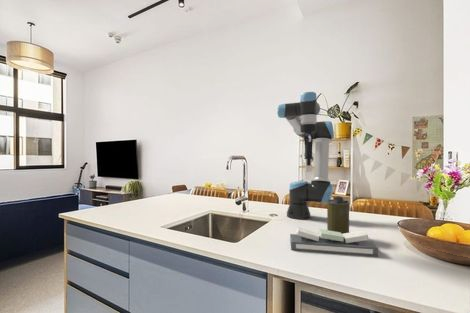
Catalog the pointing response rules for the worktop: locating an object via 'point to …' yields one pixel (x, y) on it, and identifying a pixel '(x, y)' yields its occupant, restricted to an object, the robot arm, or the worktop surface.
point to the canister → (338, 215)
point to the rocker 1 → (307, 233)
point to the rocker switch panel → (333, 246)
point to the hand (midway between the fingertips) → (308, 172)
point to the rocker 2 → (355, 236)
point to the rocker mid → (331, 235)
